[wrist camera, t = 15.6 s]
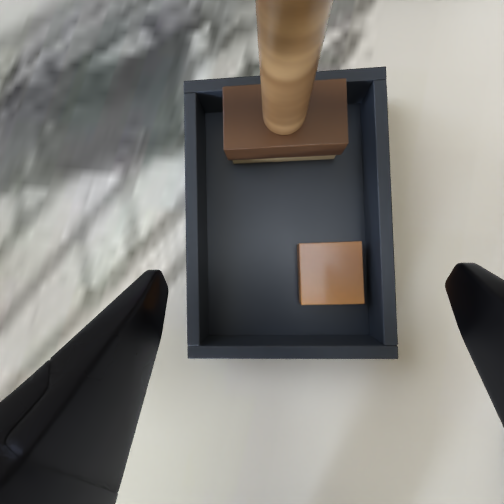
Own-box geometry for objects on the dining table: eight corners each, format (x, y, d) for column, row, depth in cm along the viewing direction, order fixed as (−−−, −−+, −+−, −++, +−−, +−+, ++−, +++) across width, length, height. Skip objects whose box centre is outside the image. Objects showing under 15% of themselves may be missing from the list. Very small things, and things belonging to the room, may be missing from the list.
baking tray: (379, 344, 19) (398, 359, 16) (200, 344, 20) (187, 359, 17) (368, 95, 20) (386, 66, 17) (196, 107, 21) (183, 80, 18)
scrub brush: (336, 162, 19) (472, -47, 6) (230, 167, 20) (151, -15, 7) (335, 106, 19) (463, -212, 6) (229, 112, 20) (150, -168, 7)
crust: (358, 301, 19) (365, 304, 17) (298, 302, 19) (301, 305, 18) (355, 242, 19) (362, 241, 17) (296, 244, 19) (298, 243, 18)
